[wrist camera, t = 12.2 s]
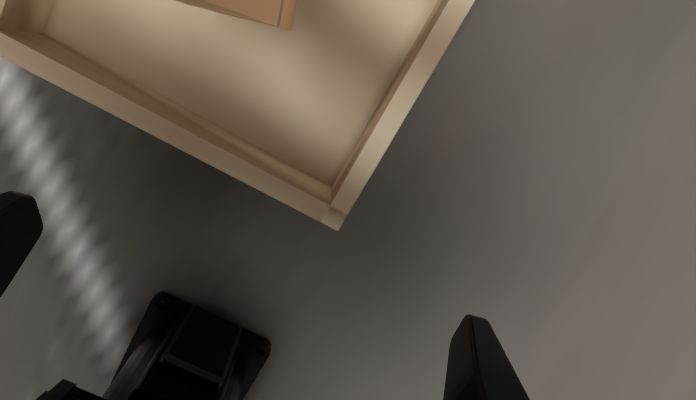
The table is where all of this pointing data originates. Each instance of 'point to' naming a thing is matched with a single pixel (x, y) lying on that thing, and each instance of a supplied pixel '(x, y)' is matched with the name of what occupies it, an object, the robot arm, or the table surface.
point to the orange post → (252, 10)
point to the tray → (247, 82)
